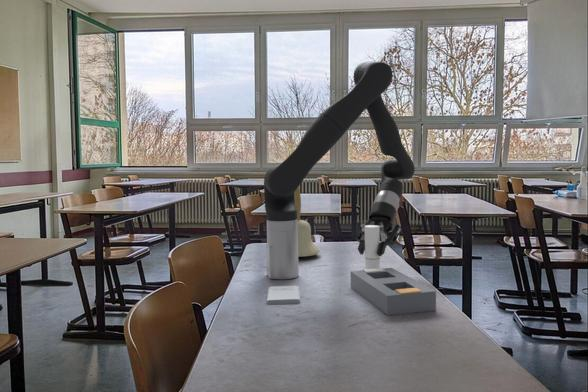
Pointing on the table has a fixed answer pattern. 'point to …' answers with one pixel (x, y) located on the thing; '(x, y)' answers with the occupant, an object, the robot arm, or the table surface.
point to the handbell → (304, 232)
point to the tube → (372, 246)
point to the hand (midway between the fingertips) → (369, 253)
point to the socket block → (393, 291)
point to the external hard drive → (283, 294)
